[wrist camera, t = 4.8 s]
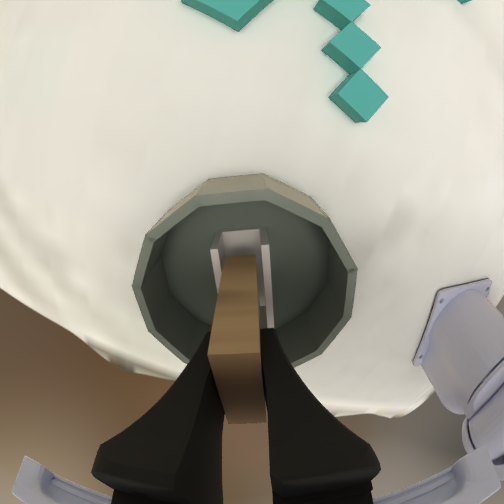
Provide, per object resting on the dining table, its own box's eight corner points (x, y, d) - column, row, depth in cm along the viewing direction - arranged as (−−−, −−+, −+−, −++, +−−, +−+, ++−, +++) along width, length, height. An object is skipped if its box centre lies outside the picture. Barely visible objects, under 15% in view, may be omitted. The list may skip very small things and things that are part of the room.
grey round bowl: (328, 324, 20) (342, 366, 16) (180, 335, 20) (168, 377, 16) (333, 169, 15) (362, 183, 11) (142, 188, 16) (110, 208, 12)
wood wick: (261, 321, 16) (266, 422, 10) (234, 323, 16) (228, 423, 10) (255, 254, 14) (259, 352, 8) (224, 256, 14) (207, 354, 8)
